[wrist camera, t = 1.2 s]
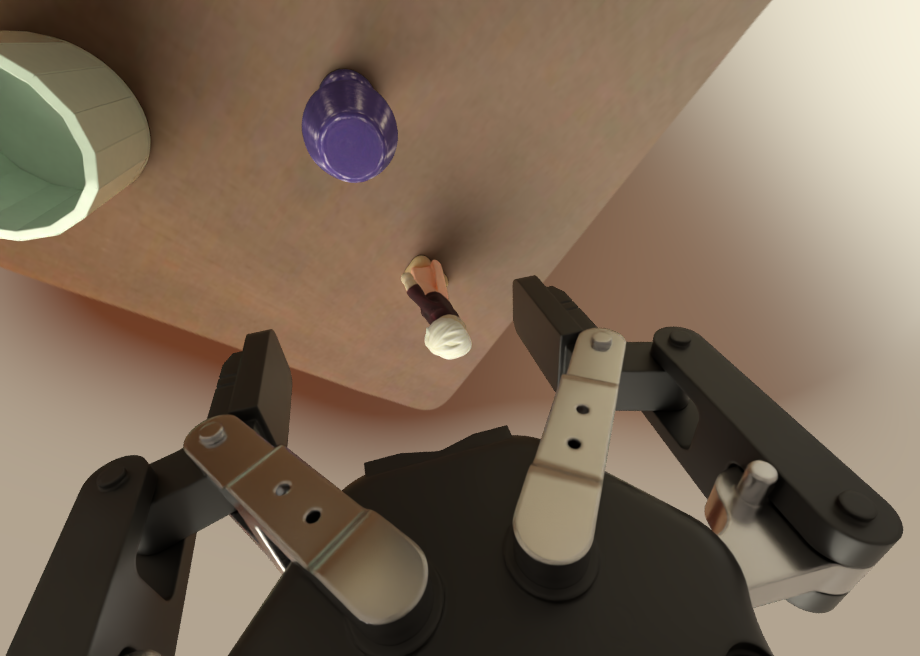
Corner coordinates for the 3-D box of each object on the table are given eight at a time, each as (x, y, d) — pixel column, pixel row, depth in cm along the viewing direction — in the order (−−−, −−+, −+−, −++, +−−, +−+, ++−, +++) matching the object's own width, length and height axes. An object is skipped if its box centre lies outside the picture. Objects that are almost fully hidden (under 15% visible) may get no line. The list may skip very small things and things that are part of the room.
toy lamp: (342, 149, 34) (355, 221, 20) (294, 97, 31) (273, 140, 18) (388, 106, 33) (432, 152, 20) (343, 49, 31) (358, 56, 17)
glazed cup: (-77, 41, 25) (-239, 41, 18) (104, 25, 27) (23, 19, 20) (30, 203, 31) (-61, 254, 23) (175, 182, 32) (133, 223, 25)
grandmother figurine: (464, 277, 43) (509, 352, 33) (440, 306, 44) (476, 387, 34) (403, 234, 39) (431, 303, 29) (377, 266, 40) (396, 344, 30)
